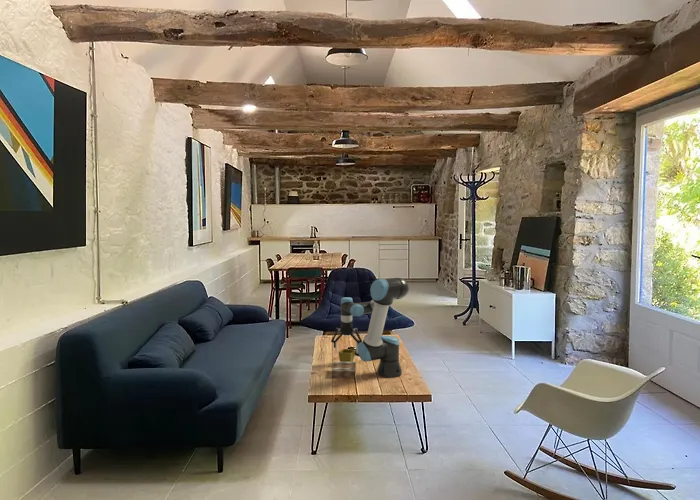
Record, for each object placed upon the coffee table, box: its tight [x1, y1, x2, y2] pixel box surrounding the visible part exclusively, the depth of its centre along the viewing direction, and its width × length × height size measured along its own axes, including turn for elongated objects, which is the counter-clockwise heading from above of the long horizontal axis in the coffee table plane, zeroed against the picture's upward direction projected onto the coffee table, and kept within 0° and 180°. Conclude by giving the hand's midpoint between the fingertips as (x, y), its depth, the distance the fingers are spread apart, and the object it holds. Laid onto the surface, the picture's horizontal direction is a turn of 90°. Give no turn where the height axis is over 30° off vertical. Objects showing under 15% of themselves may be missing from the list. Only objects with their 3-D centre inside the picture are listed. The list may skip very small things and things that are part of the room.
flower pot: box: [338, 348, 356, 362], centre depth 320 cm, size 9×9×9 cm
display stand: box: [331, 361, 357, 379], centre depth 301 cm, size 14×14×6 cm
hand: (346, 352), depth 320 cm, fingers open, 13 cm apart
